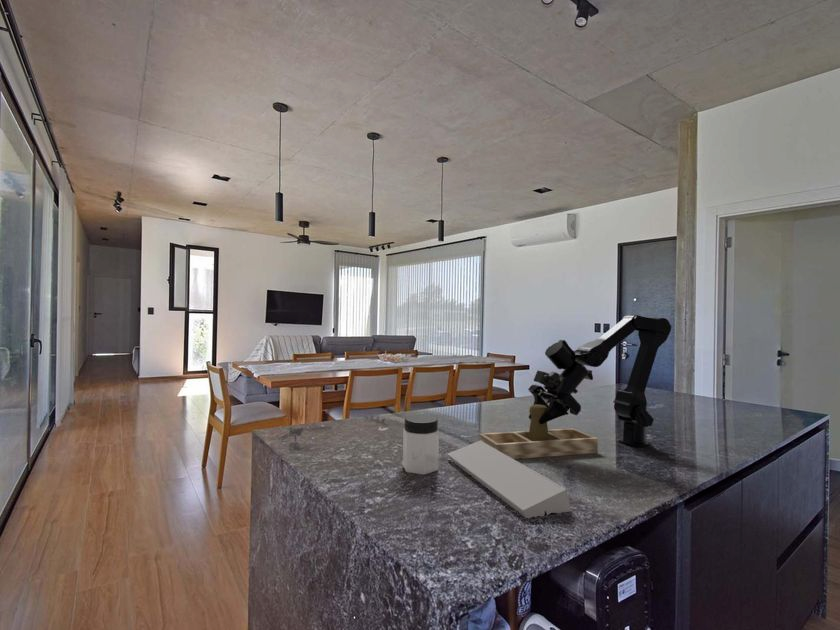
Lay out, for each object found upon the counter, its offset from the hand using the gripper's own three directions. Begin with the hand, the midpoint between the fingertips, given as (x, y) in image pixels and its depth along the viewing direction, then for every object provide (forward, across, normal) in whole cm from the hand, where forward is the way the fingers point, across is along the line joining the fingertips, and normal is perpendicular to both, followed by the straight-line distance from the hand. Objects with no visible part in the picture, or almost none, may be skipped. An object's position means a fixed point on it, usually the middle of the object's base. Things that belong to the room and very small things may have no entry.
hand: (534, 420), depth 119 cm
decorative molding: (+21, +19, -8) cm, 29 cm away
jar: (+31, +7, -19) cm, 37 cm away
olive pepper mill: (+4, 0, +6) cm, 7 cm away
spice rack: (+5, 0, +7) cm, 8 cm away
